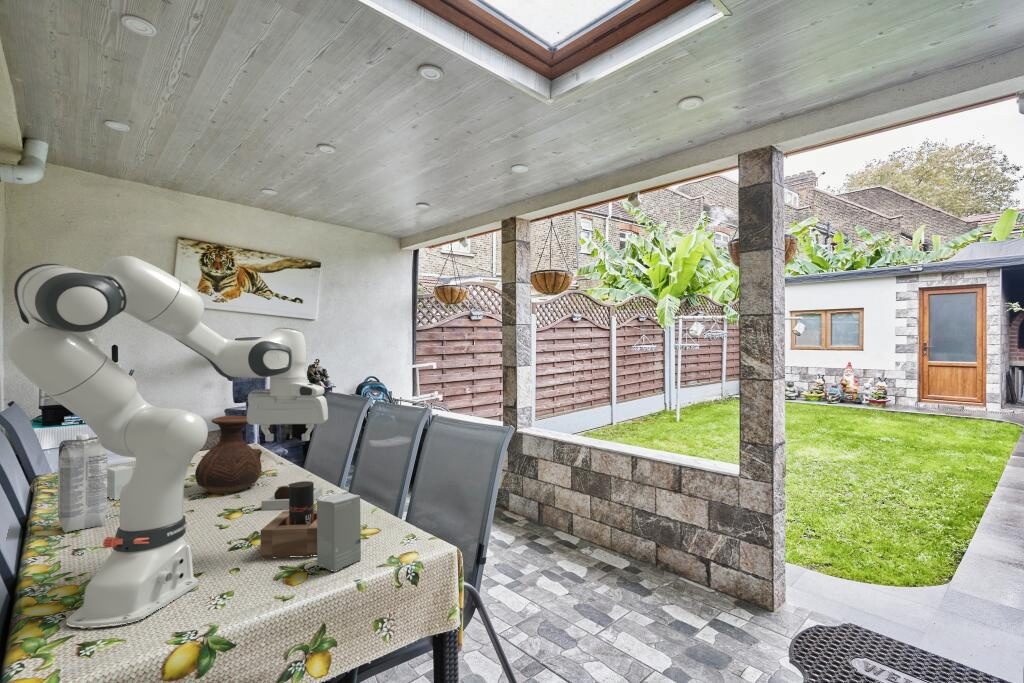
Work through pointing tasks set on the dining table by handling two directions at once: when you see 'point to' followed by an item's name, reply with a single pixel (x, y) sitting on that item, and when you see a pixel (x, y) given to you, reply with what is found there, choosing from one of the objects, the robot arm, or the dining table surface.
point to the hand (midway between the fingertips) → (287, 440)
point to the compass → (282, 493)
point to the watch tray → (284, 501)
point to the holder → (288, 538)
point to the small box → (117, 480)
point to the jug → (229, 460)
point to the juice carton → (82, 483)
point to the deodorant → (301, 503)
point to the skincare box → (338, 531)
